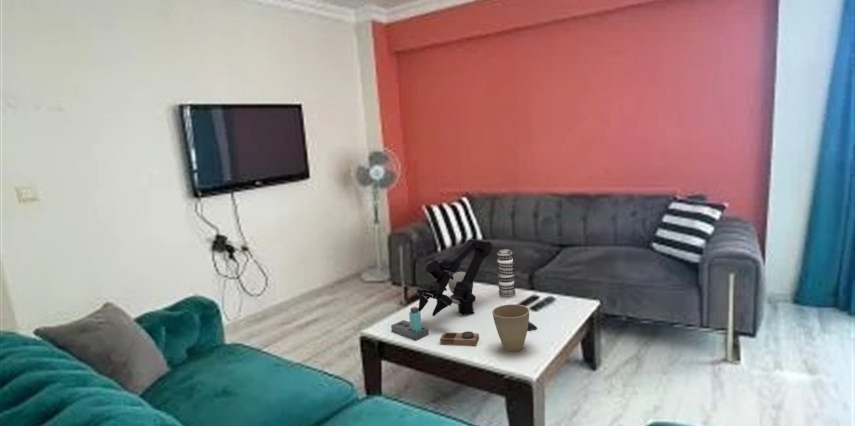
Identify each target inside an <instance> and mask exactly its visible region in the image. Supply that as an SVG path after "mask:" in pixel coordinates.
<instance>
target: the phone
mask: <svg viewBox="0 0 855 426" xmlns="http://www.w3.org/2000/svg"><path fill="white" fill-rule="evenodd" d="M536 329H537V330H538V327H537V326H536V325H535V324H533V323H532V322H531V321H529V323H528V329H527V331H529V332H533V331H537V330H536ZM532 330H533V331H532Z"/></svg>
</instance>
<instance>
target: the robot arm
mask: <svg viewBox="0 0 855 426" xmlns="http://www.w3.org/2000/svg"><path fill="white" fill-rule="evenodd" d="M492 250H493V244H492V242H491V241H486V240H478V239H473V238H470V239H468V240H467V241H466V242H465V244H463V245H462V246H461V247H460V248H459V249H458V250H457V251H456V252H455V253H454V254H451V255H449V256H447V257H446V258H444V259H443V260H442V261H441V262H439V261H438V260H435V259H433V261H431V262H430V263H429V264H427V265H426V267H425V271H426V272H427V274H429V275H430V276H431V277H432V278H433V279H435V281H431V283H429V282H423V283H422V287H421V288H418V289H417V291H416V292H415V293H416V294H417V296H418V298H419V299H418V300H419V303H418V310H419V312H420V313H421V311H423V309H424V307H425V306H426V305H427V304H428V303H429V299H433V300H436V304H435V306H434V307H435V308H434V309H433V310H432V311H433V312H432V314H431V315H432V316H433V317H435V316H436V315H438V314H439V313H440V312H441V311H443V310H444V309H446V308H448V307H452V304H453V303H452V299H451V298H450V296H448V295H447V294H444V292H446V291H448V290H447V286H448V285H449V280H450V279H451V280H453V279H454V278H453V274H454V273H457V271H458V270H459V268H460V267H461V264H462V261H464V260H465V259H466V258H467V257H468V256H469V254H471V253H472V252H473V257H472V259H471V262H470V263H469V266H468V268H467V270H466V272H465V273H466V274H465V276H464V278H463V280H462V281H461V282H459V281H458V282H457V283H456V286H455V287H454V291H453V293H454V296H455V298H456V300H458V301H459V304H457V311H458V313H459V314H460V315H461V316H467V315H474V314H475V311H474V305H473V304H474V302H475V301H476V296H475V295H474V294H473V289H472V283H473V284H474V280H475V278H476V277H477V275H478V271H479V270H480V267H481V266H482V264H483V260H484V259H486V258H487V257H489V255H490V253H491V252H492ZM453 293H452V294H453Z"/></svg>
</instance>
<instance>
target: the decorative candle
mask: <svg viewBox="0 0 855 426" xmlns="http://www.w3.org/2000/svg"><path fill="white" fill-rule="evenodd" d="M496 256H497V260H496V270H497V271H496V272H497V276H498V289H499V290H498V295H499V296H498V297H499V298H500V299H502V300H512V299H515V298H516V289H515V288H516V284H515V279H514V276H515V269H514V268H515V266H514V265H515V262H513V261H514V259H513V252H512V251H511V249H507V248H506V249H500V250H498V252H497V253H496Z"/></svg>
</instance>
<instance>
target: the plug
mask: <svg viewBox="0 0 855 426" xmlns="http://www.w3.org/2000/svg"><path fill="white" fill-rule="evenodd" d="M418 309H419V307H417V306H412V307H410V312H409V314H408V316H409V322H410V326H411V331H412V332H415V333H417V332H419V331H421V330H422V317H421V311H420V312H419V310H418Z"/></svg>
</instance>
